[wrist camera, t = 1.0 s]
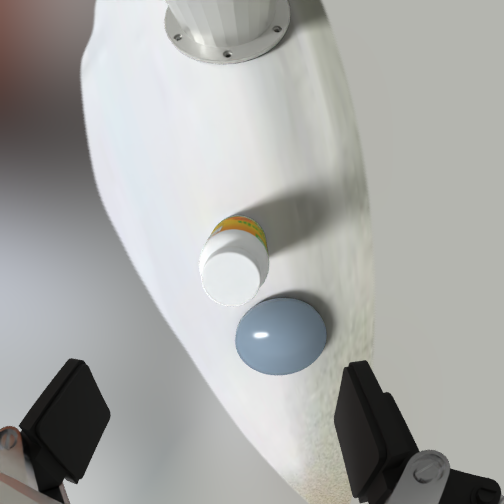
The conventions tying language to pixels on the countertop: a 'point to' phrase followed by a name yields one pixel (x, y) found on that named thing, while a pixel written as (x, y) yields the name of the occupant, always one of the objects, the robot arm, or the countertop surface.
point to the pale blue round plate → (280, 336)
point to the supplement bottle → (234, 261)
